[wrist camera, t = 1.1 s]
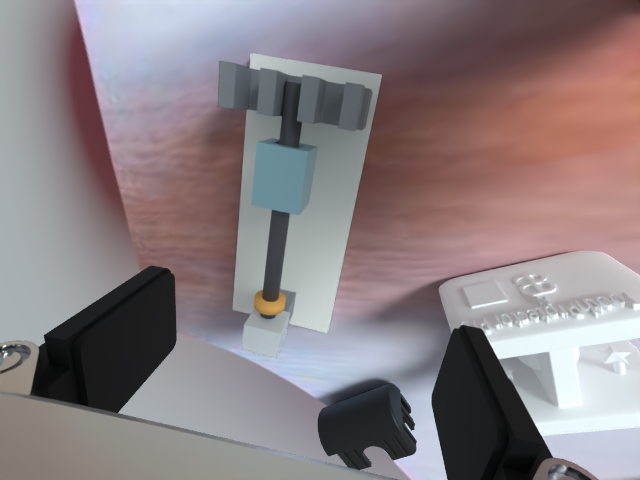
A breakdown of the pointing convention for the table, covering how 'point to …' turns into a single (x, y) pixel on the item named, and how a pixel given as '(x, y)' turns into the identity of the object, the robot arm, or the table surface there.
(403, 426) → the end cap
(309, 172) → the sleeve
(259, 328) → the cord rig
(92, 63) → the table surface
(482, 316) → the cable organizer
